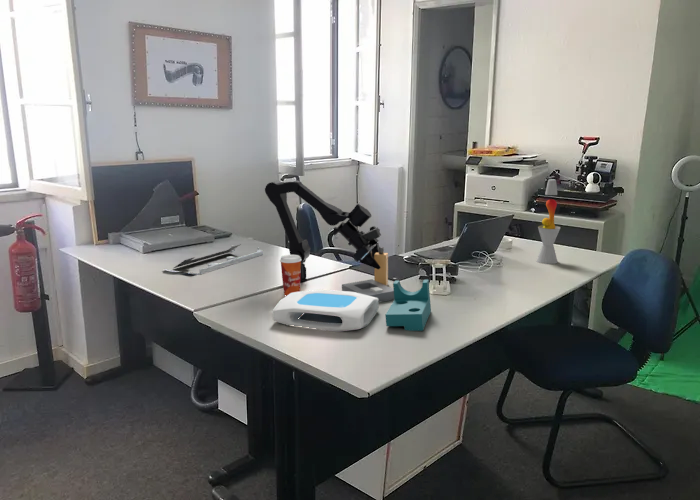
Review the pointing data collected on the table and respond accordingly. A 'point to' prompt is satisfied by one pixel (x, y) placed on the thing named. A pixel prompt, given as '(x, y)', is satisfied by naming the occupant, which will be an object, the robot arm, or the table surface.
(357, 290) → the socket plate
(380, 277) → the plug
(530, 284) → the table surface
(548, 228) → the lava lamp
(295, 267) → the paper cup
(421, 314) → the teal l-shaped bracket
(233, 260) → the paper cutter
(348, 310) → the document scanner
